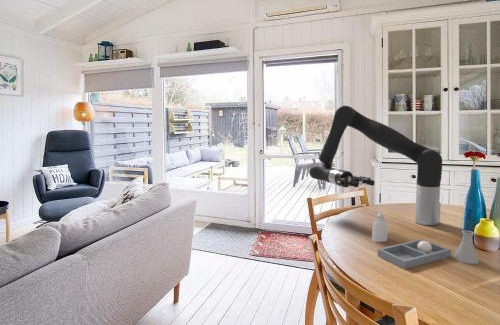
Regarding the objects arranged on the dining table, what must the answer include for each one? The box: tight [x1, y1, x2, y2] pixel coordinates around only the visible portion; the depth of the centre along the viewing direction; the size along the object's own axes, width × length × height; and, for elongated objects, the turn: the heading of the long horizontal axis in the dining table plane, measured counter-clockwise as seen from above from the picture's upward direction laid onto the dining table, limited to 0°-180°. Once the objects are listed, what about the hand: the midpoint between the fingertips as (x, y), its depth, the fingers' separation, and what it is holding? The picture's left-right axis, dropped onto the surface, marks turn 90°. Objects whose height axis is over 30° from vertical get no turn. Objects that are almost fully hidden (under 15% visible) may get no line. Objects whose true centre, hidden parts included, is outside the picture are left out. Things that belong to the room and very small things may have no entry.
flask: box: [453, 229, 480, 265], centre depth 101 cm, size 7×7×10 cm
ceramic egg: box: [417, 240, 432, 254], centre depth 106 cm, size 4×4×4 cm
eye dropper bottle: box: [371, 210, 389, 243], centre depth 119 cm, size 4×6×12 cm
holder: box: [377, 238, 452, 270], centre depth 105 cm, size 21×11×3 cm, turn 112°
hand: (366, 184), depth 130 cm, fingers open, 8 cm apart
